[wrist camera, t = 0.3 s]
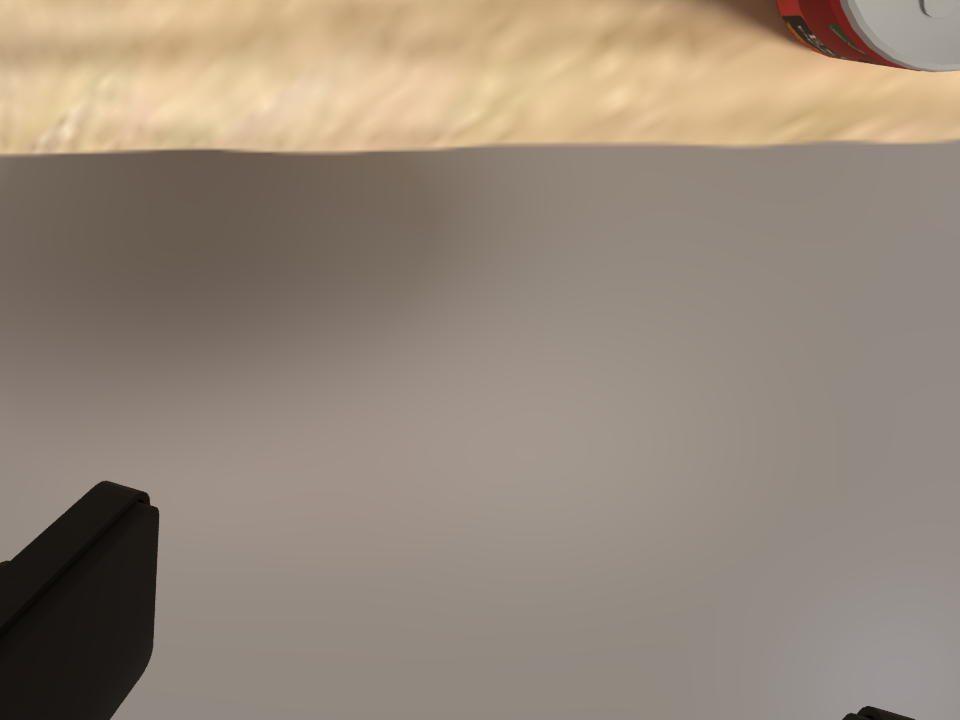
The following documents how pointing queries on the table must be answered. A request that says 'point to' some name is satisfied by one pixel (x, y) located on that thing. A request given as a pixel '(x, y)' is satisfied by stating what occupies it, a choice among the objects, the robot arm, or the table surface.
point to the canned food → (880, 31)
